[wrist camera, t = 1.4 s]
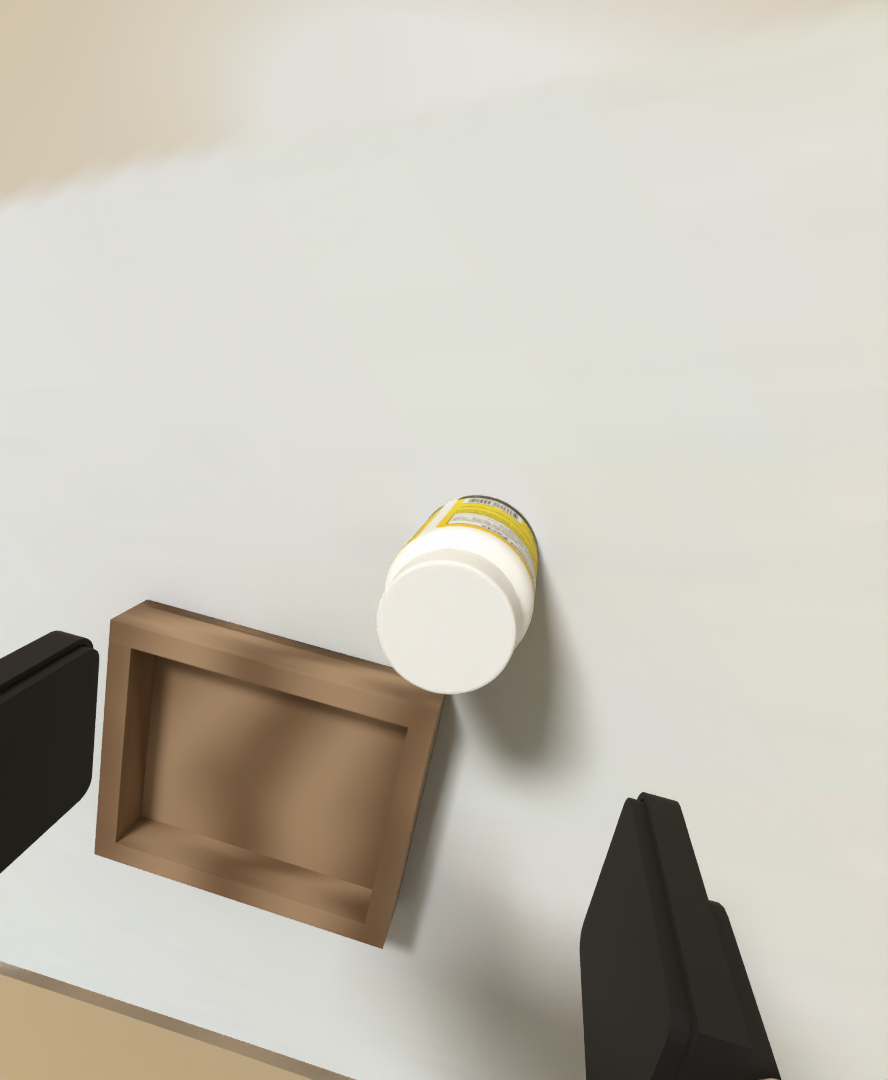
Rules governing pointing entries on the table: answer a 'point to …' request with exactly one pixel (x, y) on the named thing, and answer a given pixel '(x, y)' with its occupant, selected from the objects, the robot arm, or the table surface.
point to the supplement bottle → (459, 595)
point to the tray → (261, 768)
